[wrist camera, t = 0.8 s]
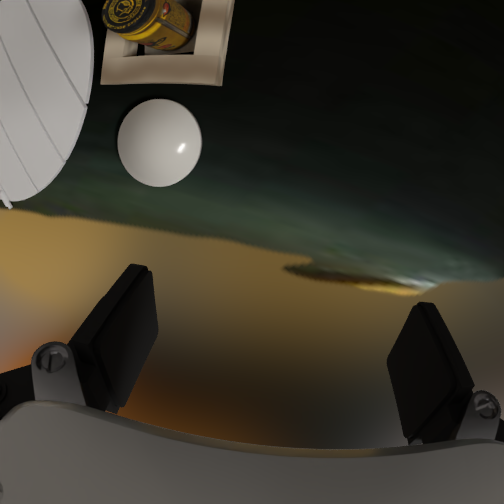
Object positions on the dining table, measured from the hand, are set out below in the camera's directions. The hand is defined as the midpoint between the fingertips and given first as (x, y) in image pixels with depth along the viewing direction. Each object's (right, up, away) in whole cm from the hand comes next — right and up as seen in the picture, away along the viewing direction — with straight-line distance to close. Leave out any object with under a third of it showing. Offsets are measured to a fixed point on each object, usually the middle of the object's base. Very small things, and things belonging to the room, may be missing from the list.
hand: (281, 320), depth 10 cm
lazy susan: (-41, +29, +22) cm, 55 cm away
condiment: (-10, +29, +17) cm, 36 cm away
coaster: (-12, +16, +24) cm, 32 cm away
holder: (-10, +29, +17) cm, 35 cm away
